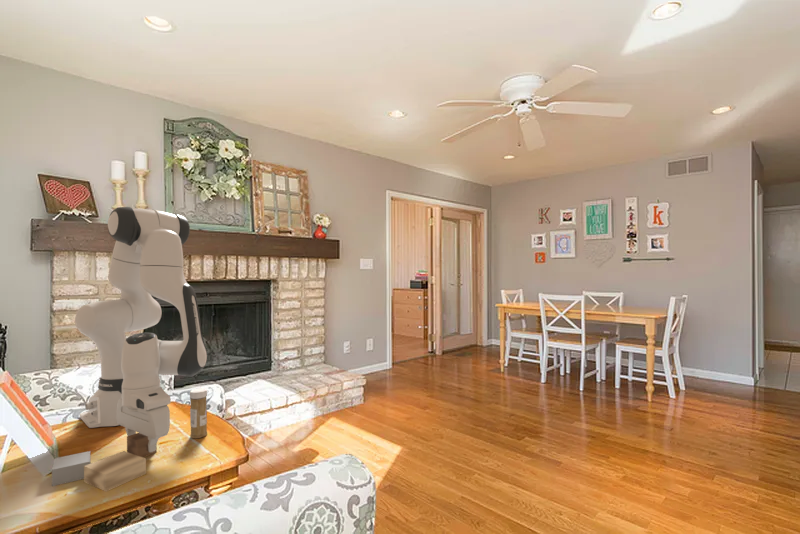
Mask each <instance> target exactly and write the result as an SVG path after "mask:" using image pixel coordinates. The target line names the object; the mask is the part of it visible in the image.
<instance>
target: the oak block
mask: <svg viewBox="0 0 800 534" xmlns="http://www.w3.org/2000/svg"><path fill="white" fill-rule="evenodd" d="M146 474H147V458H146V457H140V456H137V455H134V454H131V453H128V452H127V450H126V451H125V450H124V451H123V450H122V451H121V452H118V453H115V454H112V455H110V456H107V457H105V458H102V459H99V460H96V461H94V462H91V464H88V465H86V466H84V479H83V483H86V484H88V485H90V486H93V487H95V488H97V489H100V490H102V491H104V492H108V491H110V490H113V489H115V488H118V487H119V486H121V485H124V484H126V483H128V482H131V481H133V480H135V479H137V478H140V477H142V476H144V475H146Z"/></svg>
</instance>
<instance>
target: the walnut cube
mask: <svg viewBox="0 0 800 534" xmlns="http://www.w3.org/2000/svg"><path fill="white" fill-rule="evenodd" d="M148 443H149V440H148V436H146V435H143V434H141V433H138V432H136V434H133V435H130V436H127V435H126V452H128V453H131V454H134V455H137V456H140V457H143V458H146V457H148V456H150V455H153V454H156V453H157V447H158V446H157V444H158V443H157V444H156V450H155V451H153V452H148V451H147V450H146V449H147V448H146V445H148Z"/></svg>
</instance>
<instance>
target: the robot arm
mask: <svg viewBox="0 0 800 534" xmlns="http://www.w3.org/2000/svg"><path fill="white" fill-rule="evenodd" d="M107 229H108V230H107V232H108V234H109V235H110V237H111V238H113V240H115V243H114V246H113V249H112V255H111V260H110V265H109V270H108V276H107V278H108V282H110V284H111V286H113V287H114V288H116V289H118V290H120V298H117V299H109V300H97V301H94V302H90V303H87V304H83V305H81V306H80V307H79V308H78V309H77V311H76V313H75V316H74V323H75V327H76V328H77V330H78V332H79V333H80V334H82V335H84V336H85V337H87V338H89V339H90V340H91V341H92V342H93V343H94V344H95V347H96V348H97V351H98V353H99V359H100V377H99V380H98V386H97V390H96V391H95V393H93V395H91V396H90V397H89V399H88V402H85V405H84V407H85V410H86V411H82V412H81V413H80V414H79V419H80V420H82V421H83V422H84V424H85V426H87V427H88V428H89V429H93V428H100V427H116V426H121V427H124V428H125V430H124V431H125V433H126V437H127V436H130V435H133V434H136V433H141V434H143V435H146V436H148V440H149V443H148V445H146V448H147V449H146V450H147V451H148V452H153V451H155V450H156V444H158V441H159V439H160V438H163V437H165V436H167V435H168V434H169V432H170V429H171V428H170V422H171V421H170V420H171V417H170V416H171V415H170V414H171V413H170V407H169V406H168V405H170V404H171V402H172V401H171V399H172V398H171V396H170V395H169V394H168V393H167V392H166V391H165V390H164V388H163V387H162V386H161V378H160V376H184V377H194V376H195V375H197V374H199V373H200V372H201V371H202V370H203V369H204V368H205V366H206V365H207V361H208V353H207V349H206V344H205V341H204V337H203V331H202V325H201V317H200V311H199V304H198V299H197V294H196V292H195V289H194V287H193V286H192V285H190V284H189V283H188V282H187V280H186V278H185V277H186V276H185V274H184V251H183V245H184V244H185V243H186V242H187V241H188V240H189V237H190V234H191V233H190V232H191V228H190V224H189V221H188V219H187V218H186V217H185V216H183V215H180V214H178V213H171V212H166V211H162V210H157V209H149V208H138V207H136V208H134V207H131V206H120V207H118V206H117V207H115V208H114V209H113V210H112V211H111V213H110V214H109V217H108V221H107ZM155 298H157V299H159V300H161V301H164V302H166V303H169V304H171V305H173V306H174V307H175V308H176V309H177V311H178V312H179V316H180V322H181V323H180V324H181V330H182V336H183V340H161V339H158V336H157V334H156V333H154V332H140V333H135V334H132V335H130V336H128V337H126V333H129V332H135V331H136V332H137V331H143V330H146V329H148V328H152V327H154V326H155V325H157V324H158V323H159V322H160V321H161V318H162V307H161V305H160V302H158V301H157V300H156V299H155Z"/></svg>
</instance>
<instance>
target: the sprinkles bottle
mask: <svg viewBox="0 0 800 534" xmlns="http://www.w3.org/2000/svg"><path fill="white" fill-rule="evenodd" d="M207 396H208V390H207V389H206V388H195V389H191V390H190V391H189V400H190V411H189V414H190V415H189V416H190V419H189V421H190V438H192V439H200V438H204V437H206V436H207V435H208V431H207V430H208V429H207V427H208V426H207V424H208V418H207V417H208V416H207V415H208V414H207V413H208V411H207Z"/></svg>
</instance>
